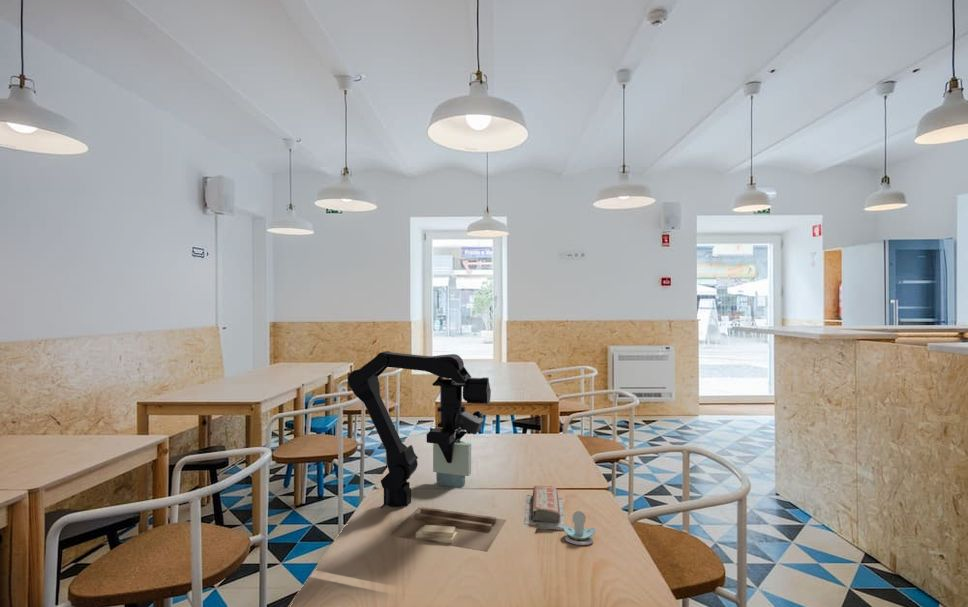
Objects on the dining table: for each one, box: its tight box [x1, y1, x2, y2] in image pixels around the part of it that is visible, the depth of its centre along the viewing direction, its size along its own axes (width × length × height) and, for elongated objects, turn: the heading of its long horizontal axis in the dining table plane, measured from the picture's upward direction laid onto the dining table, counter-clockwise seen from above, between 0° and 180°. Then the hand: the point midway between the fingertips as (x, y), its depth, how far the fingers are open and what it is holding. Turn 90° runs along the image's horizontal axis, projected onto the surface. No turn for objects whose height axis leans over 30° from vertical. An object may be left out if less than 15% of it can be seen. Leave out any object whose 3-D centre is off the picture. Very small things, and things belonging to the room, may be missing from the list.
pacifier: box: [563, 510, 596, 546], centre depth 113 cm, size 7×6×6 cm
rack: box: [388, 506, 507, 552], centre depth 117 cm, size 24×16×2 cm, turn 72°
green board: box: [432, 441, 472, 477], centre depth 129 cm, size 10×2×8 cm, turn 72°
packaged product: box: [524, 485, 566, 531], centre depth 127 cm, size 18×5×10 cm
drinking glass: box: [435, 440, 466, 489], centre depth 147 cm, size 10×10×12 cm
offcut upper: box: [422, 525, 455, 537], centre depth 112 cm, size 7×3×1 cm, turn 82°
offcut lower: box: [416, 527, 458, 544], centre depth 112 cm, size 9×4×1 cm, turn 72°
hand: (451, 461), depth 129 cm, fingers closed on green board, 2 cm apart
